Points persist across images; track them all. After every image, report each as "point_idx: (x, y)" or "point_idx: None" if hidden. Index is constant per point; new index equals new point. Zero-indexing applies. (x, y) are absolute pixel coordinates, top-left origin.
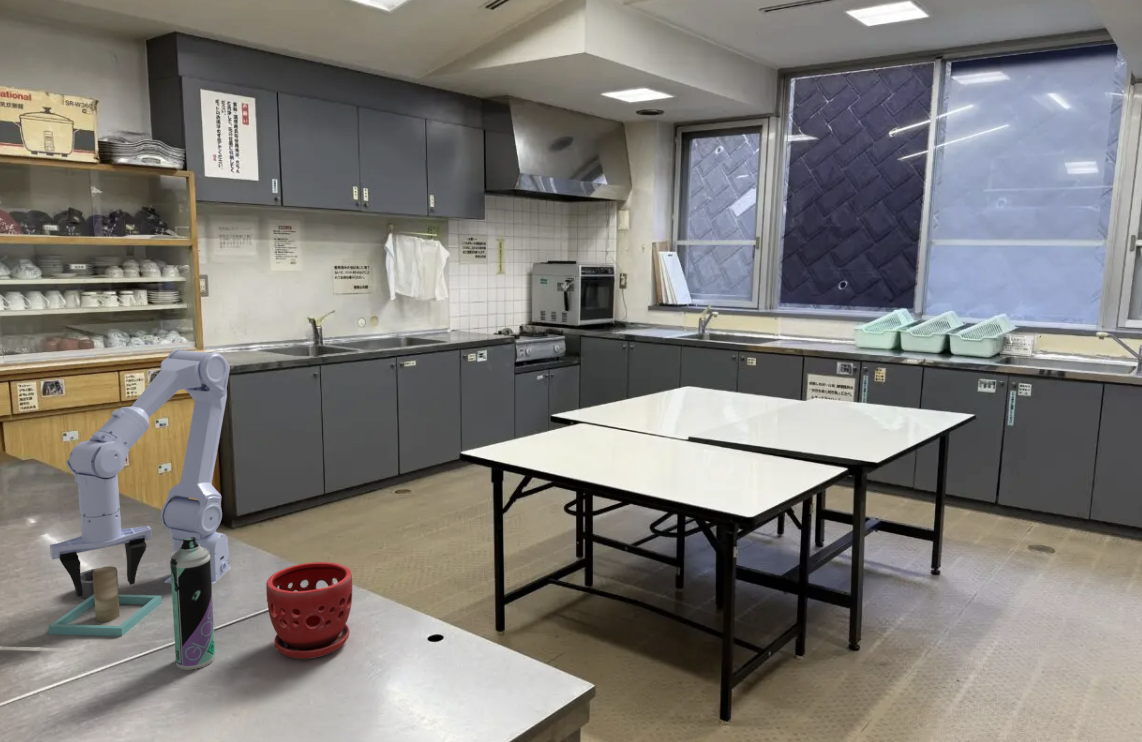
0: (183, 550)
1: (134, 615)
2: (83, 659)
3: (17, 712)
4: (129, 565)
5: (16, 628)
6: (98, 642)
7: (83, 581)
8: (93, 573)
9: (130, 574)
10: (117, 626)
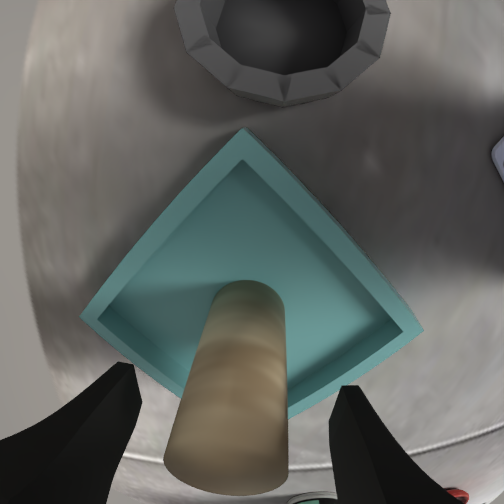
0: None
1: (299, 405)
2: (165, 432)
3: None
4: (347, 486)
5: (27, 182)
6: None
7: (205, 46)
8: (167, 465)
9: (334, 465)
10: None
